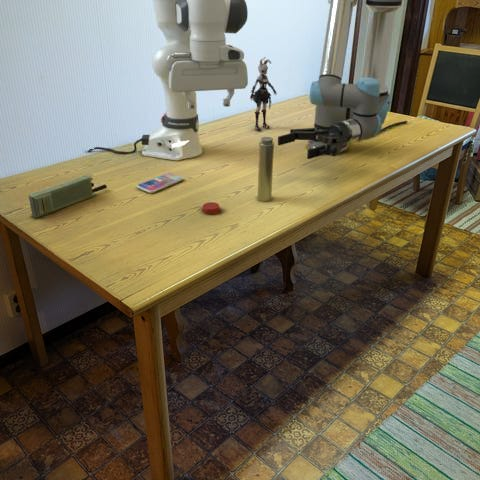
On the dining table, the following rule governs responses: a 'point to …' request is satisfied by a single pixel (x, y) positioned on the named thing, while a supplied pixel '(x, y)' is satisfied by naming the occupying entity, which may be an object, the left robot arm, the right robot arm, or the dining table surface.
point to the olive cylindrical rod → (265, 168)
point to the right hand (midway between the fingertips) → (292, 147)
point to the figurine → (262, 93)
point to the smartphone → (159, 182)
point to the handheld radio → (62, 195)
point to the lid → (211, 208)
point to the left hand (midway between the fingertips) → (209, 107)
